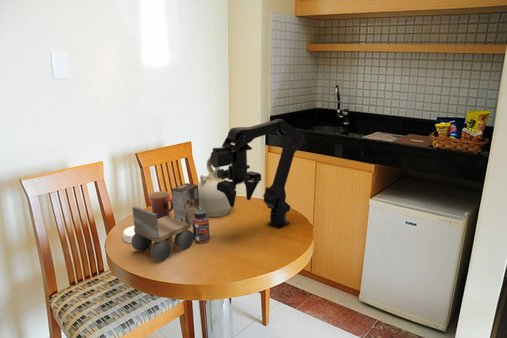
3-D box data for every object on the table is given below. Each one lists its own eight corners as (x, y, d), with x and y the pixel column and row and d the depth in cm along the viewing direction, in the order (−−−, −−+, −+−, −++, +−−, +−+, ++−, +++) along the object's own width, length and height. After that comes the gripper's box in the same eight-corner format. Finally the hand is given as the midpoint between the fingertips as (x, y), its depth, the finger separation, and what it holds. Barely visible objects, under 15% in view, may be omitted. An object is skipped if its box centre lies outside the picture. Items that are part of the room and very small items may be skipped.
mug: (146, 218, 166) (144, 196, 163) (161, 211, 173) (159, 190, 170) (167, 224, 160) (164, 200, 157) (181, 217, 167) (179, 194, 164)
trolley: (170, 235, 150) (167, 194, 145) (194, 245, 141) (191, 201, 137) (132, 252, 137) (127, 208, 132) (156, 264, 129) (151, 217, 124)
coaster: (124, 234, 152) (123, 226, 151) (150, 231, 154) (150, 223, 153) (123, 245, 143) (121, 237, 142) (151, 242, 145) (150, 233, 144)
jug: (225, 203, 182) (223, 151, 175) (238, 214, 168) (235, 158, 161) (193, 208, 176) (190, 155, 169) (203, 221, 162) (200, 163, 155)
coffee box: (189, 218, 165) (186, 182, 161) (201, 221, 162) (198, 184, 158) (174, 226, 158) (171, 188, 154) (186, 229, 155) (183, 191, 150)
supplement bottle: (199, 245, 141) (197, 216, 138) (190, 239, 146) (188, 211, 143) (212, 240, 145) (211, 211, 142) (203, 235, 149) (202, 207, 146)
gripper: (239, 154, 152) (240, 192, 157) (204, 165, 139) (207, 206, 143) (261, 158, 145) (262, 198, 150) (227, 170, 132) (229, 213, 136)
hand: (240, 203), depth 145 cm, fingers open, 9 cm apart
